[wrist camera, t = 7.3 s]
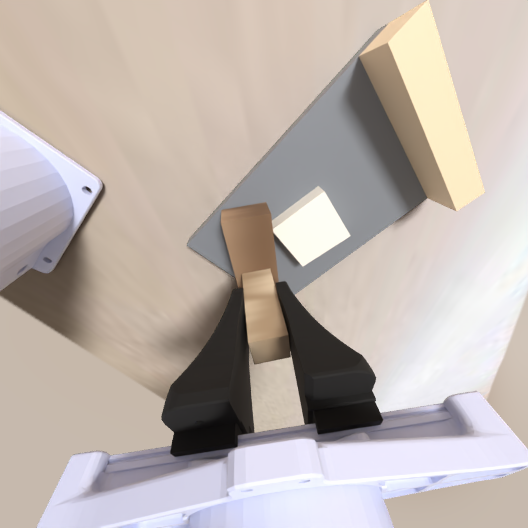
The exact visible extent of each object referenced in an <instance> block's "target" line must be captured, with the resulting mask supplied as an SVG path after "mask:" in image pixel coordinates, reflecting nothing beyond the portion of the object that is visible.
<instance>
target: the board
mask: <svg viewBox="0 0 528 528" xmlns="http://www.w3.org/2000/svg"><path fill="white" fill-rule="evenodd" d="M317 186H319V187H320V188H321V189H322V190H324V191H325V193H326V195H327V197H328V198H329V200H330V202H331V203H332V205H333V207H334V208H335V210H336V212H337V214H338V215H339V217H340V219H341V220H342V222H343V224H344V225H345V227H346V229H347V231H348V232H349V234H350V237H348V238H347V239H345V240H344V241H342V242H340V243H339V244H337V245H336V246H334V247H333V248H331V249H330V250H328V251H326V252H325V253H323V254H322V255H320V256H319V257H317V258H316V259H314V260H312V261H311V262H309V263H308V264H306V265H305V266H302V265H301V264H300V263H299V262H298V260H297V259H296V258H295V257H294V256H293V255H292V253H291V252H290V251H289V250H288V249H287V248H286V246H285V245H284V244H283V243H282V242H281V241H280V239H279V238H278V237H277V236H276V235H275V234H274V232H273V235H274V244H275V252H276V261H277V270H278V279H279V282H282V281H286V282H287V284H288V286H289V287H290V289H291V291H292V292H293V294H294V295H295V294H296V293H298V292H299V291H300V290H302V289H303V288H304V287H306V286H307V285H309V284H310V283H311V282H313V281H314V280H315V279H317V278H318V277H320V276H321V275H322V274H324V273H325V272H326V271H328V270H329V269H331V268H332V267H333V266H335V265H336V264H337V263H339V262H340V261H342V260H343V259H344V258H346V257H347V256H348V255H350V254H351V253H353V252H354V251H355V250H357V249H358V248H359V247H361V246H362V245H364V244H365V243H366V242H368V241H369V240H370V239H372V238H373V237H375V236H376V235H377V234H379V233H380V232H381V231H383V230H384V229H385V228H387V227H388V226H390V225H391V224H392V223H394V222H395V221H396V220H398V219H399V218H401V217H402V216H403V215H405V214H406V213H407V212H409V211H410V210H412V209H413V208H414V207H416V206H417V205H418V204H420V203H421V202H423V201H424V200H425V199H427V198H429V199H431V200H433V201H435V202H437V203H439V204H442V205H444V206H446V207H448V208H450V209H453V210H455V211H458V210H459V209H461V208H462V207H464V206H465V205H467V204H468V203H470V202H471V201H473V200H474V199H476V198H477V197H479V196H480V195H482V194H483V193H485V191H484V187H483V184H482V181H481V177H480V174H479V170H478V167H477V163H476V160H475V157H474V153H473V150H472V146H471V143H470V140H469V136H468V133H467V129H466V126H465V123H464V119H463V116H462V112H461V109H460V106H459V102H458V99H457V95H456V92H455V89H454V85H453V82H452V78H451V75H450V72H449V68H448V65H447V61H446V58H445V55H444V51H443V48H442V44H441V41H440V38H439V34H438V31H437V27H436V24H435V20H434V17H433V14H432V10H431V7H430V3H429V0H426V1H425V2H423V3H421V4H420V5H418V6H416V7H415V8H413V9H411V10H410V11H408V12H406V13H405V14H403V15H401V16H400V17H398V18H396V19H395V20H393V21H391V22H390V23H388V24H386V25H385V26H383V27H381V28H380V29H378V30H377V31H376V32H375V33H374V34H373V35H372V37H371V38H370V39H369V40H368V41H367V42H366V43H365V44H364V45H363V47H362V48H361V49H360V50H359V51H358V52H357V53H356V54H355V55H354V57H353V58H352V59H351V60H350V61H349V62H348V63H347V64H346V65H345V67H344V68H343V69H342V70H341V71H340V72H339V73H338V74H337V75H336V76H335V78H334V79H333V80H332V81H331V82H330V83H329V84H328V85H327V86H326V88H325V89H324V90H323V91H322V92H321V93H320V94H319V95H318V96H317V98H316V99H315V100H314V101H313V102H312V103H311V104H310V105H309V106H308V108H307V109H306V110H305V111H304V112H303V113H302V114H301V115H300V116H299V118H298V119H297V120H296V121H295V122H294V123H293V124H292V125H291V126H290V128H289V129H288V130H287V131H286V132H285V133H284V134H283V135H282V136H281V137H280V139H279V140H278V141H277V142H276V143H275V144H274V145H273V146H272V147H271V149H270V150H269V151H268V152H267V153H266V154H265V155H264V156H263V157H262V159H261V160H260V161H259V162H258V163H257V164H256V165H255V166H254V167H253V169H252V170H251V171H250V172H249V173H248V174H247V175H246V176H245V177H244V179H243V180H242V181H241V182H240V183H239V184H238V185H237V186H236V187H235V189H234V190H233V191H232V192H231V193H230V194H229V195H228V196H227V197H226V198H225V200H224V201H223V202H222V203H221V204H220V205H219V206H218V207H217V208H216V210H215V211H214V212H213V213H212V214H211V215H210V216H209V217H208V218H207V220H206V221H205V222H204V223H203V224H202V225H201V226H200V227H199V228H198V230H197V231H196V232H195V233H194V234H193V235H192V236H191V237H190V238H189V241H188V243H187V246H188V247H190V248H191V249H193V250H194V251H196V252H197V253H199V254H200V255H202V256H203V257H205V258H206V259H208V260H209V261H211V262H212V263H214V264H215V265H217V266H218V267H220V268H221V269H223V270H224V271H226V272H227V273H229V274H230V275H232V276H233V277H235V274H234V270H233V266H232V263H231V259H230V255H229V252H228V248H227V244H226V240H225V237H224V233H223V229H222V226H221V210H224V209H230V208H235V207H241V206H247V205H253V204H258V203H264V202H266V203H267V205H268V208H269V210H270V212H271V217H272V220H274V219H275V218H276V217H278V216H279V215H280V214H281V213H283V212H284V211H285V210H287V209H288V208H289V207H291V206H292V205H293V204H295V203H296V202H297V201H299V200H300V199H301V198H303V197H304V196H305V195H307V194H308V193H309V192H311V191H312V190H313V189H315V188H316V187H317Z"/></svg>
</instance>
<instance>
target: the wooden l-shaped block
mask: <svg viewBox="0 0 528 528" xmlns="http://www.w3.org/2000/svg"><path fill="white" fill-rule="evenodd" d="M221 226H222V229H223V233H224V237H225V240H226V244H227V248H228V252H229V255H230V259H231V263H232V266H233V270H234V274H235V278H236V281H237V285H238V288H243V289H244V302H245V313H246V324H247V335H248V344H249V347H250V351H251V354H252V358H253V361H254V364H259V363H264V362H269V361H274V360H279V359H283V358H288V357H291V356H290V345H289V335H288V331H287V328H286V324H285V320H284V317H283V313H282V309H281V306H280V302H279V299H278V295H277V289H276V282H279V279H278V270H277V261H276V252H275V244H274V235H273V226H272V217H271V212H270V210H269V208H268V205H267V203H266V202H264V203H258V204H253V205H247V206H241V207H235V208H230V209H224V210H221Z"/></svg>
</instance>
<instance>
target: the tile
mask: <svg viewBox="0 0 528 528" xmlns="http://www.w3.org/2000/svg"><path fill="white" fill-rule="evenodd" d="M272 226H273V232H274V234H275V235H276V236H277V237H278V238H279V239H280V241H281V242H282V243H283V244H284V245H285V246H286V248H287V249H288V250H289V251H290V252H291V253H292V255H293V256H294V257H295V258H296V259H297V260H298V262H299V263H300V264H301V265H302V266H305V265H306V264H308V263H309V262H311V261H312V260H314V259H316V258H317V257H319V256H320V255H322V254H323V253H325V252H326V251H328V250H330V249H331V248H333V247H334V246H336V245H337V244H339V243H340V242H342V241H344V240H345V239H347V238H348V237H350V234H349V232H348V231H347V229H346V227H345V225H344V224H343V222H342V220H341V219H340V217H339V215H338V214H337V212H336V210H335V208H334V207H333V205H332V203H331V202H330V200H329V198H328V197H327V195H326V193H325V191H324V190H322V189H321V188H320V187H319V186H317V187H316V188H315V189H313V190H312V191H311V192H309V193H308V194H307V195H305V196H304V197H303V198H301V199H300V200H299V201H297V202H296V203H295V204H293V205H292V206H291V207H289V208H288V209H287V210H285V211H284V212H283V213H281V214H280V215H279V216H278V217H276V218H275V219H274V220H272Z"/></svg>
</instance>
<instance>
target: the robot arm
mask: <svg viewBox="0 0 528 528" xmlns="http://www.w3.org/2000/svg"><path fill="white" fill-rule="evenodd" d="M86 186H87V187H89V188H90V189H91V191H92V193H90V192H88V191H87V189H86ZM102 187H103V185H102V182H101V181H100V179H99V178H98V177H96V176H95V175H93V174H92V173H90V172H89V171H88V170H86V169H85V168H83V167H82V166H80V165H79V164H77V163H76V162H74V161H73V160H72V159H70V158H69V157H67V156H66V155H64V154H63V153H61V152H60V151H58V150H57V149H56V148H54V147H53V146H51V145H50V144H48V143H47V142H45V141H44V140H43V139H41V138H40V137H38V136H37V135H35V134H34V133H32V132H31V131H29V130H28V129H27V128H25V127H24V126H22V125H21V124H19V123H18V122H16V121H15V120H14V119H12V118H11V117H9V116H8V115H6V114H5V113H3V112H2V111H0V291H1V290H3V289H4V288H5V287H7V286H8V285H9V284H11V283H12V282H13V281H15V280H16V279H17V278H19V277H20V276H22V275H23V274H24V273H26V272H27V271H28V270H30V269H31V268H33V269H35V270H37V271H40V272H42V273H50V272H51V271H52V270H54V268H55V267H56V265H57V263H58V262H59V260H60V258H61V257H62V255H63V253H64V252H65V250H66V248H67V247H68V245H69V243H70V242H71V240H72V238H73V237H74V235H75V233H76V231H77V230H78V228H79V226H80V225H81V223H82V221H83V220H84V218H85V216H86V215H87V213H88V211H89V210H90V208H91V206H92V205H93V203H94V201H95V200H96V198H97V196H98V195H99V193H100V191H101V190H102ZM50 259H51V260H50ZM276 289H277V295H278V299H279V302H280V306H281V309H282V313H283V317H284V320H285V324H286V328H287V331H288V335H289V345H290V351H291V355H292V360H293V365H294V370H295V375H296V381H297V386H298V391H299V396H300V402H301V407H302V412H303V418H304V423H305V425H301V426H295V427H288V428H282V429H276V430H269V431H263V432H256V433H254V423H253V412H252V400H251V387H250V372H249V344H248V335H247V324H246V313H245V302H244V289H243V288H238V289H234V290H233V291H232V294H231V297H230V300H229V303H228V305H227V307H226V310H225V312H224V314H223V316H222V318H221V320H220V322H219V324H218V326H217V328H216V329H215V331H214V333H213V334H212V336H211V338H210V339H209V341H208V342H207V344H206V345H205V346H204V348H203V349H202V351H201V352H200V353H199V355H198V356H197V357H196V358H195V360H194V361H193V362H192V363H191V364H190V366H189V367H188V368H187V369H186V370H185V371H184V372H183V373H182V374H181V376H180V377H179V378H178V379H177V380H176V381H175V382H174V383H173V384H172V385H171V387H170V390H169V392H168V395H167V398H166V401H165V405H164V409H163V413H162V421H163V422H164V424H165V425H166V426H168V427H169V428H170V429H171V430H172V431H173V432H174V435H173V440H172V445H171V446H167V447H161V448H155V449H148V450H142V451H136V452H129V453H123V454H117V455H109V454H108V453H107V452H104V451H92V452H85V453H79V454H74V455H72V456H71V458H70V460H69V462H68V464H67V466H66V468H65V470H64V473H63V475H62V477H61V479H60V481H59V483H58V485H57V487H56V489H55V491H54V493H53V495H52V497H51V499H50V501H49V503H48V505H47V507H46V509H45V511H44V513H43V515H42V517H41V520H40V521H39V524H38V525H37V527H36V528H394V526H393V524H392V521H391V518H390V516H389V513H388V510H387V508H386V505H385V502H384V499H388V498H393V497H398V496H403V495H408V494H413V493H419V492H423V491H429V490H434V489H439V488H444V487H449V486H454V485H460V484H466V483H471V482H477V481H483V480H489V479H495V478H501V477H504V476H507V475H510V474H512V473H514V472H517V471H520V470H523V469H525V468H528V449H527V448H526V446H525V445H524V444H523V443H522V442H521V441H520V439H519V438H518V437H517V436H516V435H515V434H514V432H513V431H512V430H511V429H510V428H509V427H508V425H507V424H506V423H505V422H504V421H503V420H502V418H500V416H499V415H498V414H497V413H496V411H495V410H494V409H493V408H492V407H491V405H490V404H489V403H488V402H487V401H486V400H485V398H484V397H483V396H482V395H481V394H480V393H479V392H477V391H473V392H467V393H461V394H455V395H451V396H449V397H447V398H446V399H445V400H444V403H441V404H435V405H428V406H422V407H416V408H409V409H403V410H396V411H390V412H384V413H380V412H379V409H378V407H377V405H376V403H375V401H376V398H375V396H374V394H373V392H372V389H373V386H374V384H375V381H376V377H375V374H374V372H373V370H372V369H371V367H370V366H369V364H368V363H367V361H366V360H365V358H364V357H363V356H362V355H361V354H359V353H358V352H356V351H354V350H353V349H351V348H350V347H348V346H347V345H346V344H344V343H343V342H341V341H340V340H339V339H337V338H336V337H335V336H334V335H332V334H331V333H330V332H329V331H327V330H326V329H325V328H324V327H323V326H322V325H320V324H319V323H318V322H317V321H316V320H315V319H314V318H313V317H312V316H311V315H310V314H309V312H308V311H307V310H306V309H305V308H304V307H303V306H302V304H301V303H300V302H299V301H298V299H297V298H296V297H295V295H294V294H293V292H292V291H291V289H290V287H289V286H288V284H287V282H286V281H282V282H276Z"/></svg>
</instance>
